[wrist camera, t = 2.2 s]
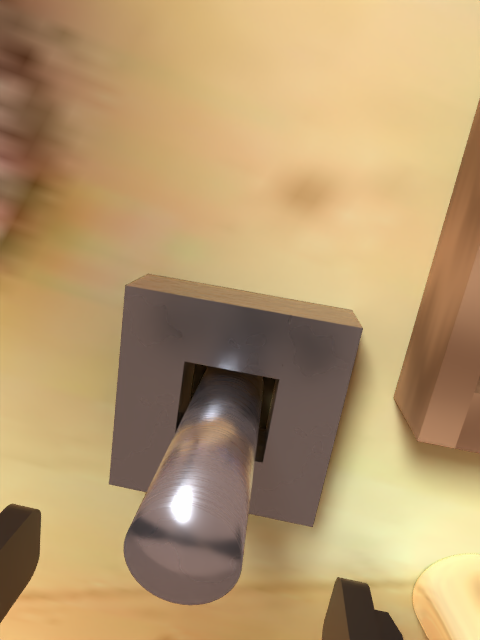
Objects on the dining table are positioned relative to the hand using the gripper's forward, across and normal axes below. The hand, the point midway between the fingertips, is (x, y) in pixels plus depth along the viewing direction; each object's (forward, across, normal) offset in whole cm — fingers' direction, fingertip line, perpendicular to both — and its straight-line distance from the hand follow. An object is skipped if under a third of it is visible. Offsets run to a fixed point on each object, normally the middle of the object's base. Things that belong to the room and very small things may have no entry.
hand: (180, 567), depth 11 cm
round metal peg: (+11, 0, 0) cm, 11 cm away
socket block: (+11, 0, 0) cm, 11 cm away
